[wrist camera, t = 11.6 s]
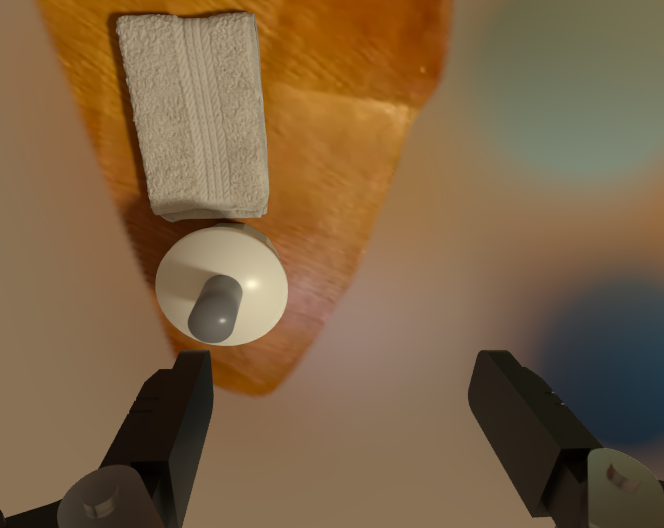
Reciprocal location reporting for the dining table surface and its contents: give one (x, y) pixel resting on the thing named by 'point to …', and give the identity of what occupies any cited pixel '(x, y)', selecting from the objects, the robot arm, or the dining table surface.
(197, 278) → the lid
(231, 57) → the washcloth
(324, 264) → the dining table surface
